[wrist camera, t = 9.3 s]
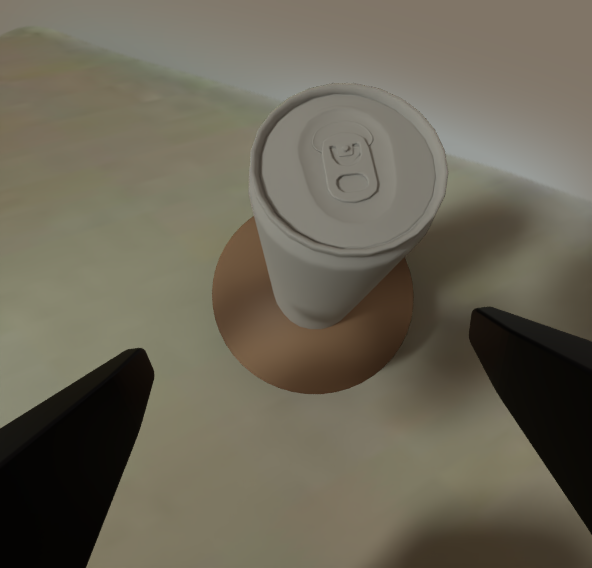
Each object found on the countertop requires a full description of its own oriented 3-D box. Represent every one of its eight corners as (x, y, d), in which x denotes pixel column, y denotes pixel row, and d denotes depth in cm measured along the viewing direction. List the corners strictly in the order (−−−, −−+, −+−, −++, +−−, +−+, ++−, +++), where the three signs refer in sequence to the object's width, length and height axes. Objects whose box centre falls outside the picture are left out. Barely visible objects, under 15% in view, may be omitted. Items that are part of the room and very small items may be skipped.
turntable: (440, 337, 19) (452, 335, 18) (264, 429, 18) (262, 434, 16) (349, 184, 22) (353, 171, 21) (190, 252, 21) (182, 243, 19)
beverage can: (346, 248, 19) (426, 68, 8) (361, 324, 18) (481, 245, 7) (269, 257, 19) (234, 87, 8) (279, 336, 18) (254, 275, 6)
